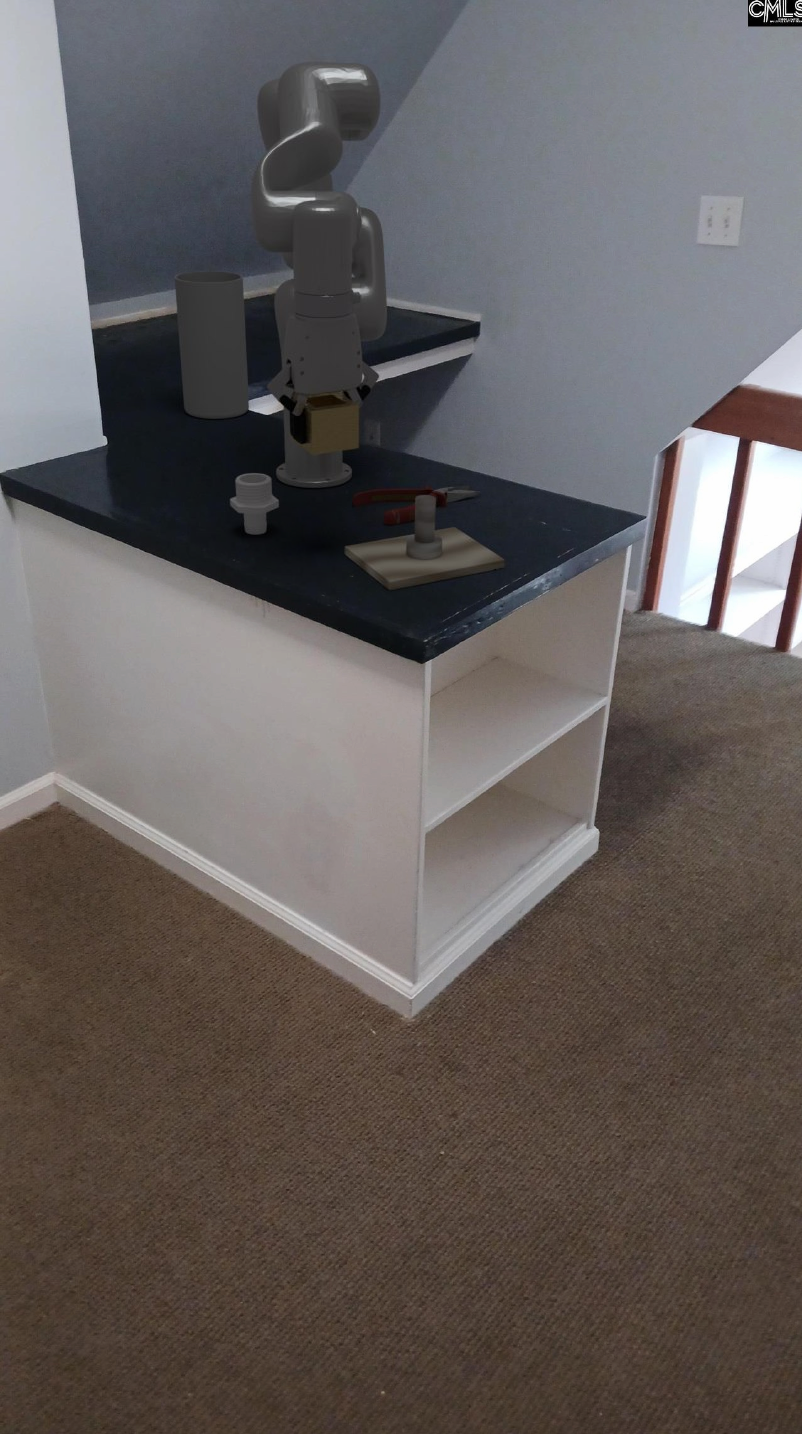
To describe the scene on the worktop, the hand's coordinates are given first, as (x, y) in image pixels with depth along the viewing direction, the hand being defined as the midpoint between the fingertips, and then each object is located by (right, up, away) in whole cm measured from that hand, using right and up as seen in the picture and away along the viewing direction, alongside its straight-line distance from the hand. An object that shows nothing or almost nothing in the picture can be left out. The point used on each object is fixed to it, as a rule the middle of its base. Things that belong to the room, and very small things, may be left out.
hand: (324, 436), depth 161 cm
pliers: (+14, -7, +22) cm, 27 cm away
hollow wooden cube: (0, -1, +1) cm, 1 cm away
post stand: (+14, -17, +3) cm, 22 cm away
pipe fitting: (-11, -11, +12) cm, 20 cm away
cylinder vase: (-26, +21, +68) cm, 75 cm away
